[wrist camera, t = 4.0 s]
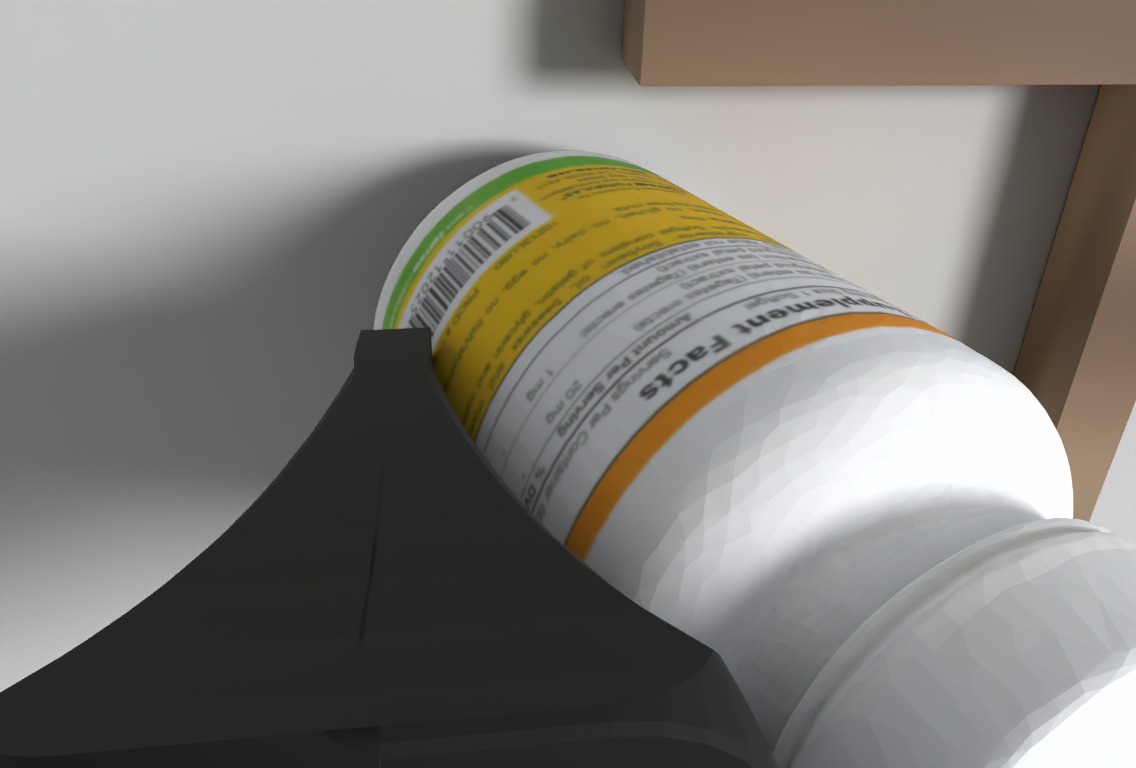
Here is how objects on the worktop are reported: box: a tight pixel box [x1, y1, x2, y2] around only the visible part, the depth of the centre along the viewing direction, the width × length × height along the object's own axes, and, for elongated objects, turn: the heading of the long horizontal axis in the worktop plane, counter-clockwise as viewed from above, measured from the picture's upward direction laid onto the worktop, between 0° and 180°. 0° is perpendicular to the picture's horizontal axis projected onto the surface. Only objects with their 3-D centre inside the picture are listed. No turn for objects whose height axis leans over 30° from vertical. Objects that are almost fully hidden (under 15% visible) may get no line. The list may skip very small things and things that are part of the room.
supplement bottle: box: [373, 150, 1136, 768], centre depth 11 cm, size 5×5×10 cm
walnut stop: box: [622, 0, 1136, 521], centre depth 16 cm, size 10×8×2 cm
